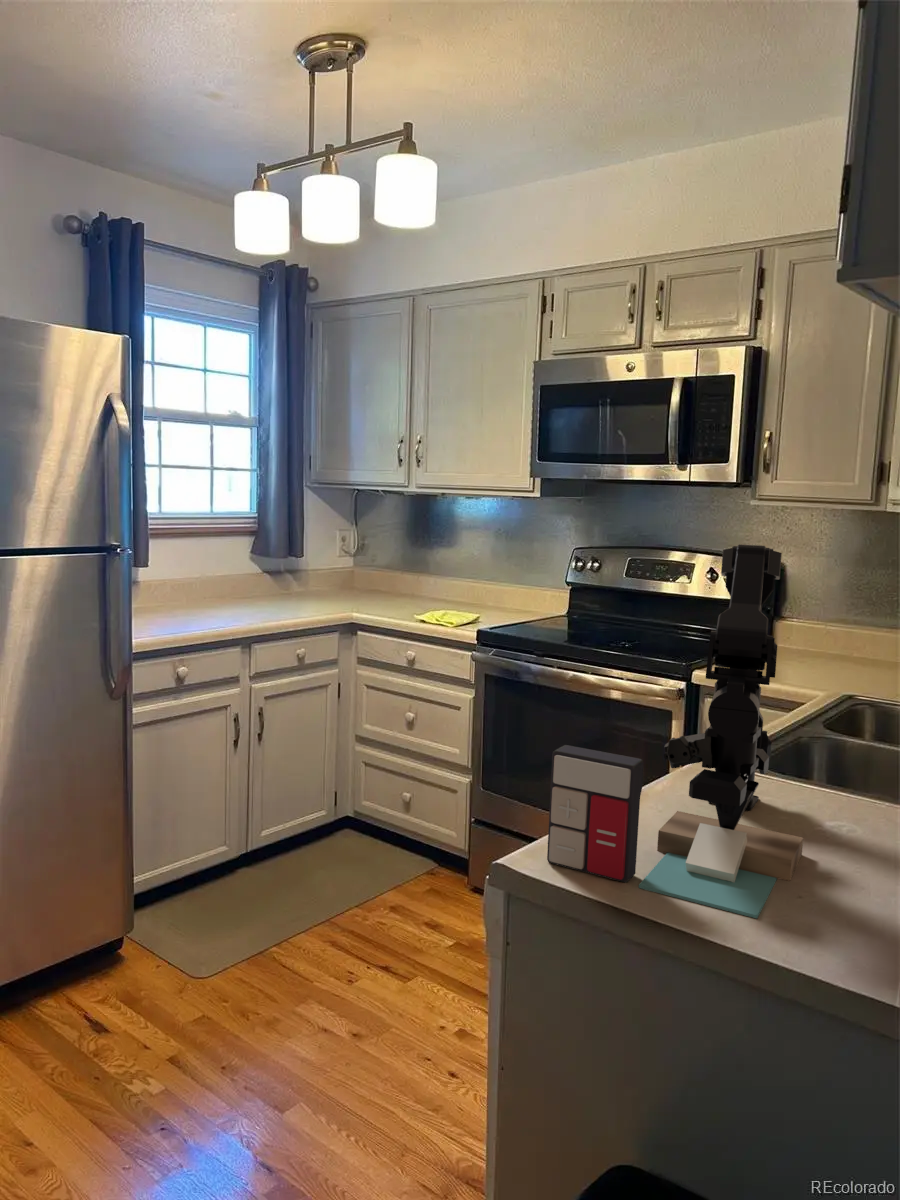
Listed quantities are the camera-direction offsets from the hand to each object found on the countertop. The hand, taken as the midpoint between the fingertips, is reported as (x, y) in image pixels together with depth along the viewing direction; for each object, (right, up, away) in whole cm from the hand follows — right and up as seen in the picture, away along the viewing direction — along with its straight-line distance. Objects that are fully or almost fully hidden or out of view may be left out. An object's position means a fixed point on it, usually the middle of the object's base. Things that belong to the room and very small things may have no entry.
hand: (726, 836), depth 117 cm
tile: (-2, -1, -3) cm, 4 cm away
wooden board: (+1, -3, +3) cm, 5 cm away
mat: (-4, -4, -6) cm, 9 cm away
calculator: (-18, -4, -3) cm, 19 cm away
